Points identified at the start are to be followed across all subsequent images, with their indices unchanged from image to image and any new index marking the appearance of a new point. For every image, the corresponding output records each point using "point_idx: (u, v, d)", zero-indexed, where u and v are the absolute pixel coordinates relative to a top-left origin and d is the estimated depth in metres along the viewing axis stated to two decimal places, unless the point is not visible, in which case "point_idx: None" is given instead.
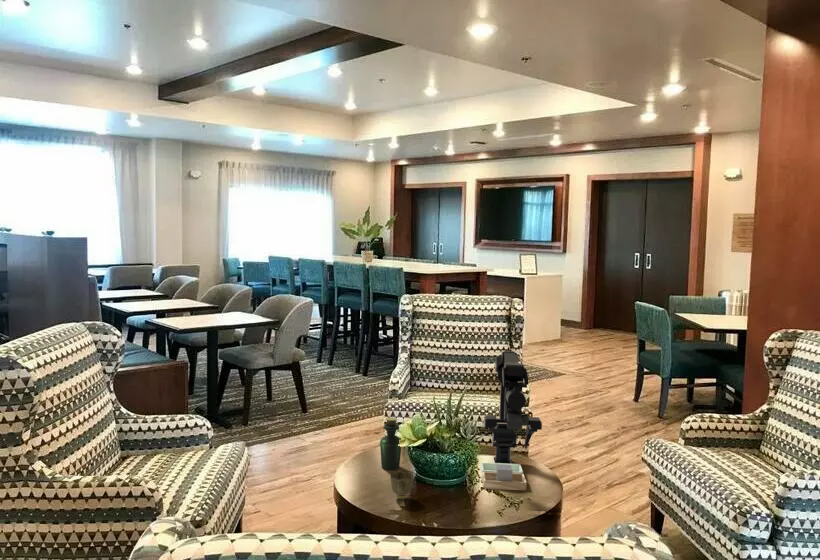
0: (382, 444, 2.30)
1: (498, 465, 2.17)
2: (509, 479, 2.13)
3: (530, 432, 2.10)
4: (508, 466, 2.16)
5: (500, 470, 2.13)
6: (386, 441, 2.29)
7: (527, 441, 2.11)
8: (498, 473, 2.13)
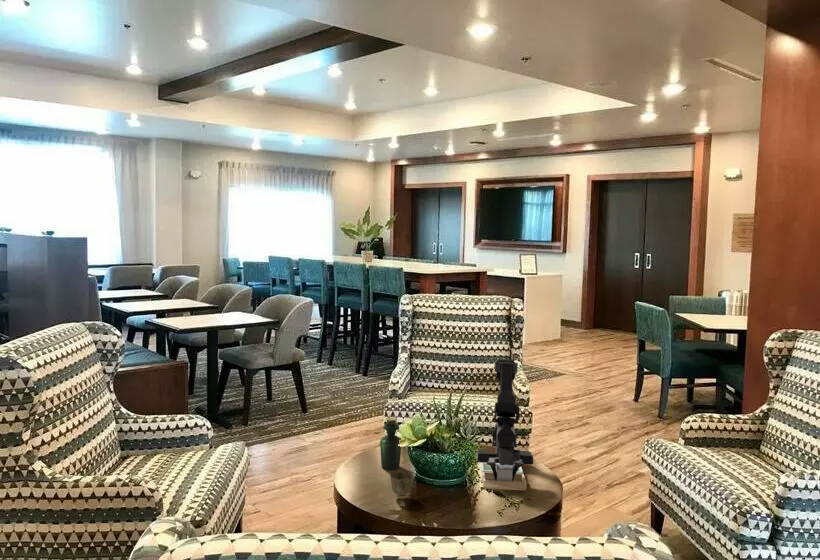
0: (382, 444, 2.30)
1: (498, 465, 2.17)
2: (509, 479, 2.13)
3: (516, 466, 2.13)
4: (508, 466, 2.16)
5: (500, 470, 2.13)
6: (386, 441, 2.29)
7: (513, 475, 2.15)
8: (498, 473, 2.13)
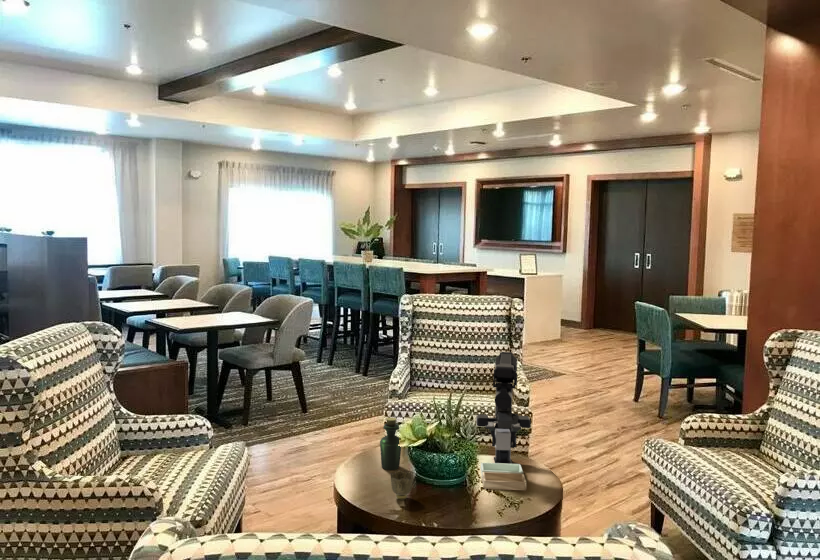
0: (382, 444, 2.30)
1: (497, 429, 2.26)
2: (507, 442, 2.22)
3: (514, 430, 2.22)
4: (506, 430, 2.25)
5: (499, 433, 2.22)
6: (386, 441, 2.29)
7: (511, 438, 2.23)
8: (497, 436, 2.22)
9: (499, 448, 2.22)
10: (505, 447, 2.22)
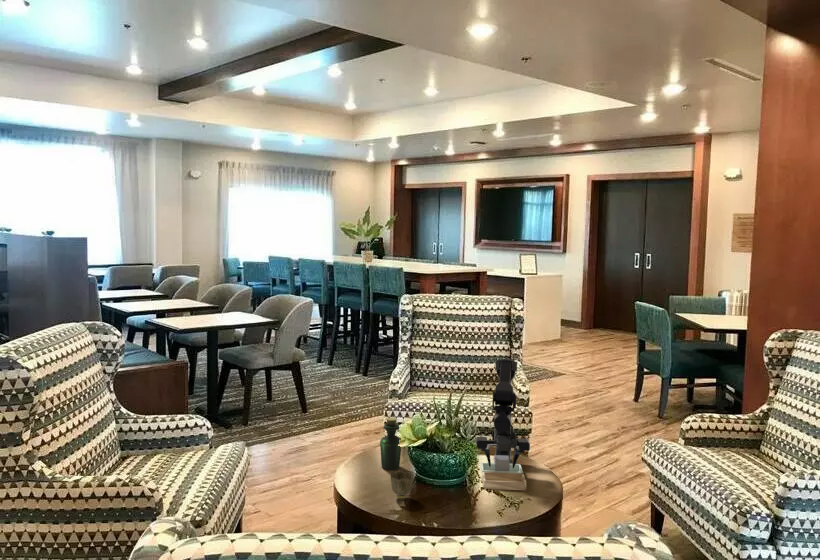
0: (382, 444, 2.30)
1: (496, 456, 2.27)
2: (506, 469, 2.23)
3: (517, 453, 2.22)
4: (505, 457, 2.26)
5: (498, 460, 2.23)
6: (386, 441, 2.29)
7: (514, 461, 2.24)
8: (496, 463, 2.23)
9: None
10: None
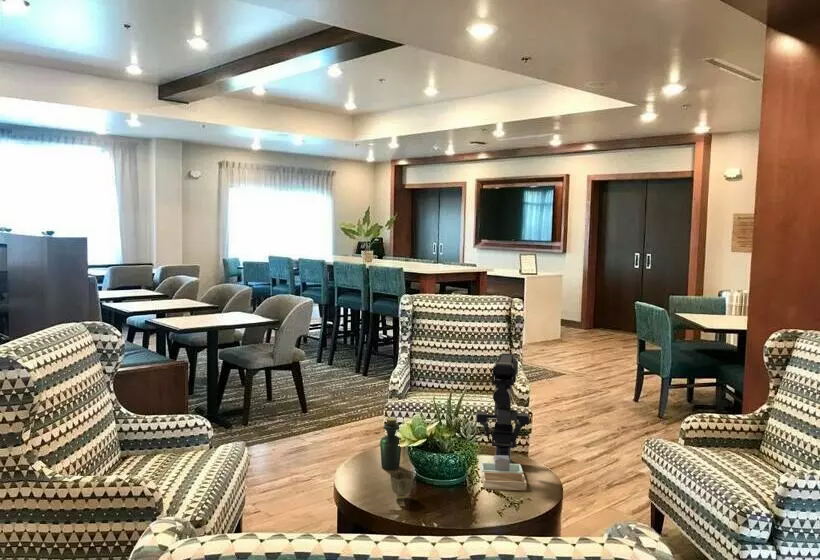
0: (382, 444, 2.30)
1: (496, 456, 2.27)
2: (506, 469, 2.23)
3: (518, 427, 2.25)
4: (505, 457, 2.26)
5: (498, 460, 2.23)
6: (386, 441, 2.29)
7: (516, 435, 2.27)
8: (496, 463, 2.23)
9: None
10: None
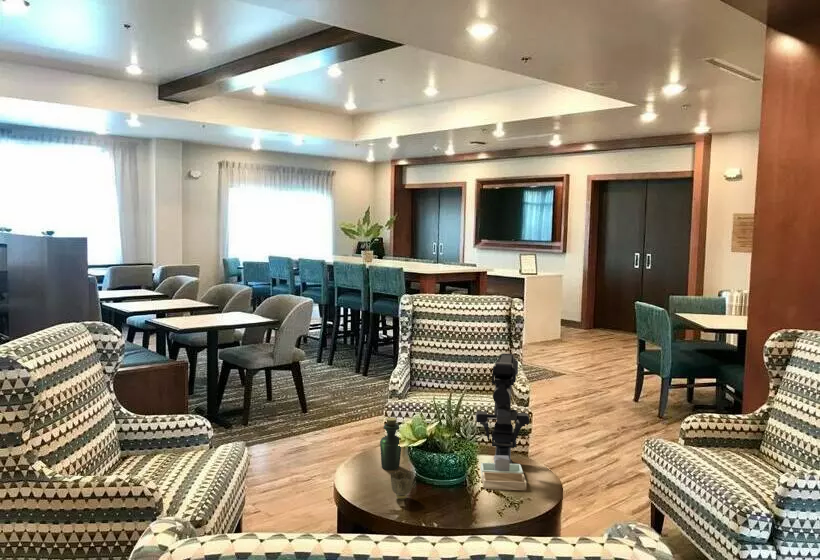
0: (382, 444, 2.30)
1: (496, 456, 2.27)
2: (506, 469, 2.23)
3: (518, 426, 2.25)
4: (505, 457, 2.26)
5: (498, 460, 2.23)
6: (386, 441, 2.29)
7: (516, 435, 2.27)
8: (496, 463, 2.23)
9: None
10: None
